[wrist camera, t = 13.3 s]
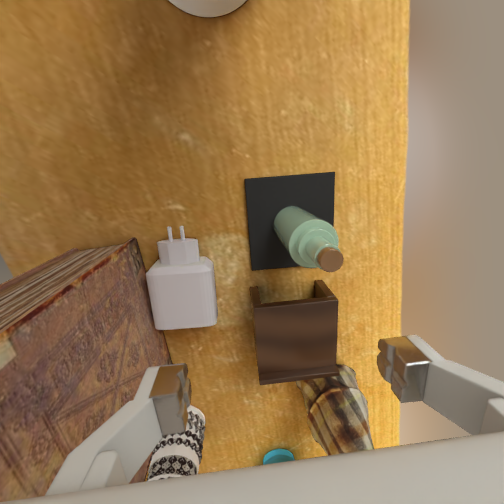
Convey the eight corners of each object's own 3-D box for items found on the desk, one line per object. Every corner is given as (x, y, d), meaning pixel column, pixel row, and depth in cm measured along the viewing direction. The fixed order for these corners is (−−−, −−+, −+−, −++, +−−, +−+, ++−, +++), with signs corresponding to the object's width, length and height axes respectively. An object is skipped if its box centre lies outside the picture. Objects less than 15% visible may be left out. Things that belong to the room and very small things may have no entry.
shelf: (250, 286, 42) (254, 313, 34) (322, 279, 43) (342, 304, 35) (255, 347, 46) (259, 385, 38) (321, 340, 46) (339, 376, 38)
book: (74, 246, 38) (-396, 470, 10) (136, 236, 38) (-141, 428, 10) (124, 381, 46) (-54, 726, 17) (175, 372, 46) (84, 699, 18)
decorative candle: (158, 438, 51) (93, 675, 27) (158, 402, 48) (86, 629, 24) (205, 439, 52) (182, 668, 28) (208, 403, 49) (185, 623, 25)
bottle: (272, 207, 38) (300, 233, 22) (310, 204, 38) (363, 228, 23) (274, 244, 40) (301, 292, 24) (310, 240, 40) (360, 286, 24)
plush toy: (366, 341, 46) (441, 537, 23) (377, 395, 51) (448, 603, 28) (289, 352, 49) (288, 533, 26) (305, 401, 54) (317, 592, 31)
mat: (244, 178, 37) (244, 179, 36) (333, 172, 38) (334, 172, 37) (251, 269, 41) (252, 270, 41) (331, 261, 42) (332, 263, 41)
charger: (209, 221, 38) (218, 309, 43) (146, 224, 38) (162, 314, 43) (207, 227, 34) (216, 326, 39) (135, 231, 33) (153, 331, 38)
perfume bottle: (291, 438, 53) (312, 536, 39) (305, 465, 56) (330, 566, 42) (250, 453, 54) (256, 556, 40) (266, 480, 57) (277, 584, 42)
